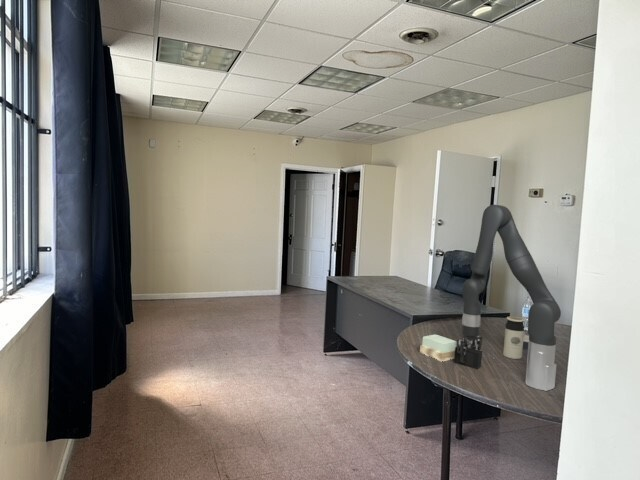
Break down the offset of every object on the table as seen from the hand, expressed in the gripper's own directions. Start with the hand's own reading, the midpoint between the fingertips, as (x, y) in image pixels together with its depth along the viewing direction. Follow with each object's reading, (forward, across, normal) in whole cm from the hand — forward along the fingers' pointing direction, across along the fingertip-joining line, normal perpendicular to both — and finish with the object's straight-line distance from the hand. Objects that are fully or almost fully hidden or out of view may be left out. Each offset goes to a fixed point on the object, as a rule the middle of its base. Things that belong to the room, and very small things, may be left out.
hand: (468, 361), depth 183 cm
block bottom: (+2, -3, +14) cm, 14 cm away
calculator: (+2, +51, +8) cm, 52 cm away
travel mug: (+1, +28, -3) cm, 28 cm away
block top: (-2, -3, +14) cm, 14 cm away
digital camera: (+2, 0, 0) cm, 2 cm away
